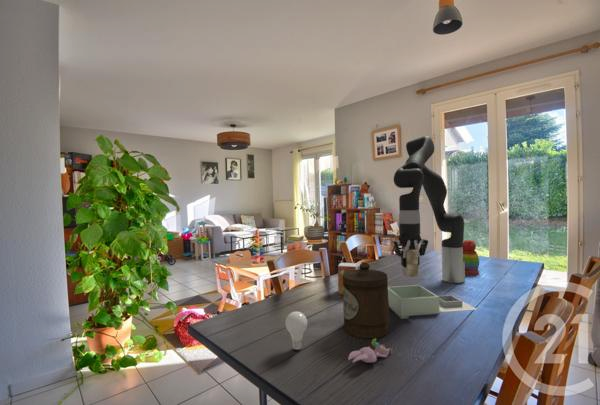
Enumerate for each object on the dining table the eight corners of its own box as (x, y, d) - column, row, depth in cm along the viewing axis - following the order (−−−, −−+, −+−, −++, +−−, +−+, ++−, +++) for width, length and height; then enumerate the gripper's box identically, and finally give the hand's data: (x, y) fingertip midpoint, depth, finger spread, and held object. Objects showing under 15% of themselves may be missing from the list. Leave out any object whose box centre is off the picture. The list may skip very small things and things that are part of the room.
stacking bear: (459, 269, 167) (459, 238, 166) (480, 271, 161) (479, 239, 160) (456, 273, 158) (456, 240, 158) (478, 276, 152) (478, 242, 152)
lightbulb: (286, 344, 89) (284, 308, 88) (306, 343, 89) (305, 307, 89) (286, 356, 82) (285, 317, 82) (309, 354, 83) (308, 315, 83)
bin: (419, 301, 119) (419, 284, 119) (439, 316, 105) (439, 296, 105) (386, 304, 118) (385, 286, 118) (401, 318, 104) (401, 299, 104)
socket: (454, 298, 122) (454, 291, 122) (477, 312, 108) (477, 304, 108) (422, 300, 121) (421, 293, 120) (441, 314, 107) (441, 306, 106)
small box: (338, 294, 131) (337, 265, 131) (340, 290, 137) (340, 262, 137) (356, 295, 129) (355, 266, 128) (358, 291, 135) (357, 263, 134)
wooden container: (341, 319, 106) (340, 258, 105) (383, 318, 105) (381, 257, 104) (346, 339, 91) (345, 269, 90) (395, 338, 90) (393, 268, 90)
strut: (413, 273, 114) (412, 247, 113) (418, 276, 110) (417, 249, 109) (403, 273, 113) (402, 248, 113) (407, 276, 109) (407, 250, 109)
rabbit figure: (378, 352, 86) (341, 362, 77) (380, 331, 86) (343, 338, 77) (396, 361, 80) (358, 373, 72) (398, 339, 81) (361, 348, 72)
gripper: (422, 220, 115) (423, 263, 116) (387, 221, 114) (388, 265, 114) (432, 222, 108) (433, 268, 108) (395, 223, 107) (396, 270, 107)
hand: (410, 266), depth 111 cm, fingers closed on strut, 4 cm apart
